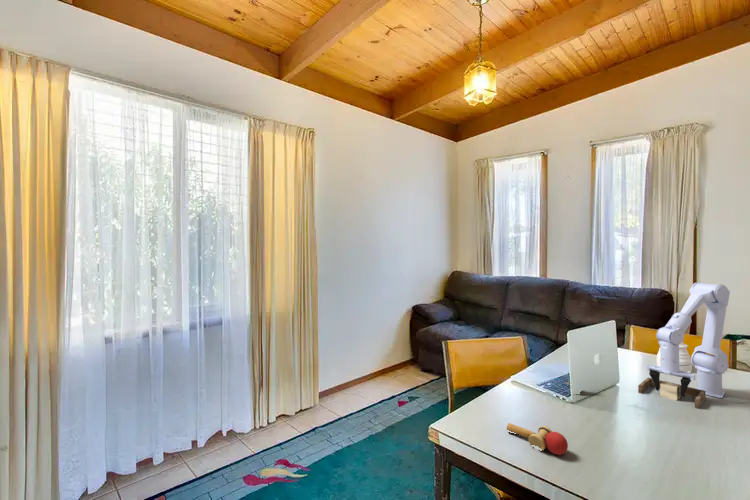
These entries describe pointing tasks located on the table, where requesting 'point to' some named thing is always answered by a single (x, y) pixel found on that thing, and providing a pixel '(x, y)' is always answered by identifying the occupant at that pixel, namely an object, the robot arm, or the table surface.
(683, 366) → the honey pot
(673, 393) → the maple block
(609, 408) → the table surface
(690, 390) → the open walnut frame
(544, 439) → the kendama
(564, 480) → the table surface
